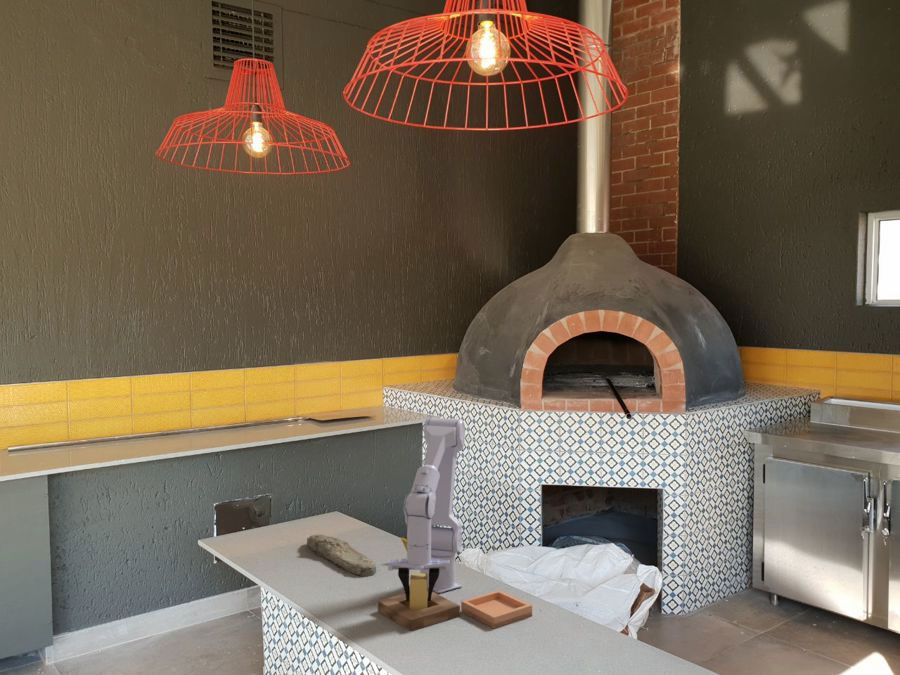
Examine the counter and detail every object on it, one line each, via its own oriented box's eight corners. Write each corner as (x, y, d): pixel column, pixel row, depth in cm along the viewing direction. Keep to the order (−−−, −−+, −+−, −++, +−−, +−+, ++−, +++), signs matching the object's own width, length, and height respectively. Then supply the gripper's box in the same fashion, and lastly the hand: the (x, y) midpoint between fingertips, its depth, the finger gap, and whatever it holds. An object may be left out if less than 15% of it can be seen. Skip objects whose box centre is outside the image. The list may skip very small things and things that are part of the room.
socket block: (377, 611, 180) (378, 600, 180) (425, 597, 189) (425, 588, 189) (411, 631, 169) (411, 620, 169) (459, 616, 178) (459, 605, 177)
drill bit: (420, 568, 212) (396, 542, 213) (417, 570, 217) (392, 545, 218) (433, 554, 214) (408, 529, 215) (429, 556, 219) (405, 531, 220)
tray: (461, 611, 180) (461, 601, 180) (498, 600, 188) (498, 590, 188) (493, 628, 171) (494, 617, 171) (532, 615, 178) (532, 605, 178)
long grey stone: (353, 585, 201) (385, 579, 207) (355, 566, 201) (386, 561, 207) (297, 545, 229) (326, 541, 235) (298, 528, 229) (328, 524, 235)
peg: (409, 617, 177) (410, 579, 176) (410, 610, 181) (410, 573, 180) (426, 617, 177) (427, 579, 177) (427, 610, 181) (427, 573, 181)
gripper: (387, 548, 174) (387, 605, 175) (449, 548, 174) (449, 606, 175) (389, 538, 181) (389, 594, 182) (449, 539, 181) (449, 594, 182)
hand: (418, 599), depth 179 cm, fingers open, 4 cm apart
